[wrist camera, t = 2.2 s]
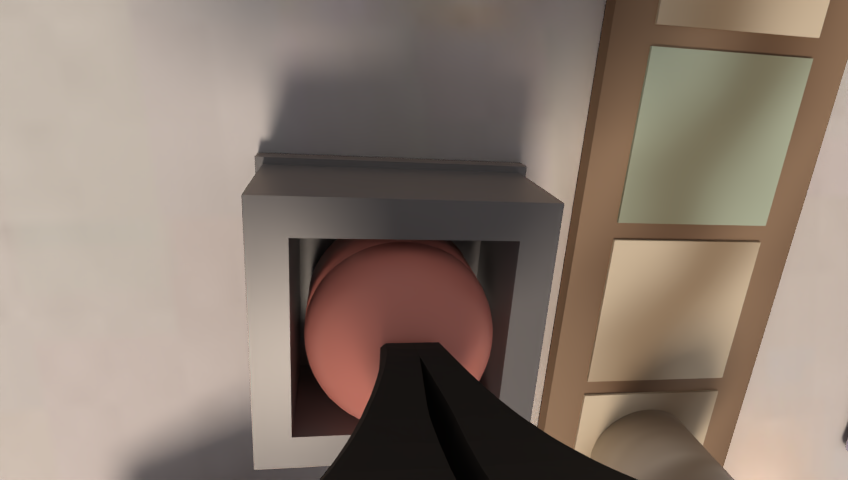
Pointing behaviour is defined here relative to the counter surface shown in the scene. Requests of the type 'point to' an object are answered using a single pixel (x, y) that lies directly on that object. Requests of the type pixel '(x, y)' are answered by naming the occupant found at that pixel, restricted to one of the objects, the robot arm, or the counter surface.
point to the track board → (687, 207)
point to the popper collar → (384, 219)
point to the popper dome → (390, 311)
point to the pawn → (655, 449)
